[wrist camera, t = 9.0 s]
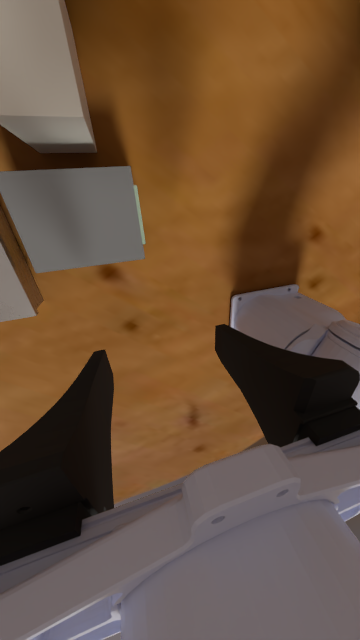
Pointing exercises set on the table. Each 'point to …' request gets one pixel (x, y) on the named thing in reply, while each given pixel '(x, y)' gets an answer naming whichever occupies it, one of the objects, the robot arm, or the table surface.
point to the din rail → (15, 278)
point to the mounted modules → (75, 216)
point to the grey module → (42, 78)
